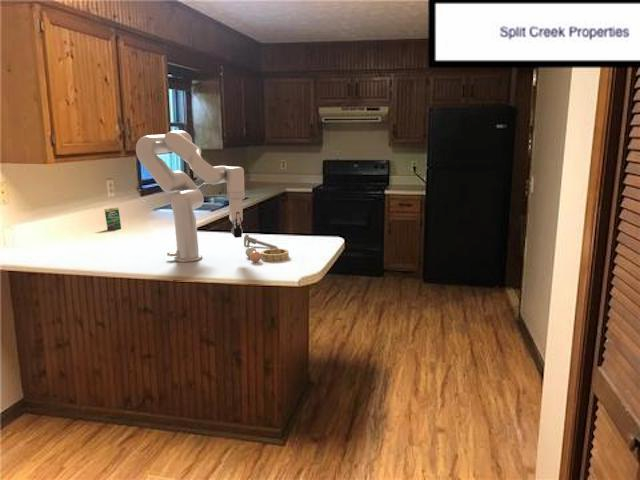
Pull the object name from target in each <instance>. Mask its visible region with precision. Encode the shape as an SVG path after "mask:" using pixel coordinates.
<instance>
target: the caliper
mask: <svg viewBox="0 0 640 480" xmlns="http://www.w3.org/2000/svg"><path fill="white" fill-rule="evenodd" d="M250 244H253V245H256V244H257V245H261V246H264V247H266V248H269V249H280V247H278V246H277V245H274V244H270V243H268V242H265V241H261V240H259V239H257V238H254V237H251V236H250V235H249V234H247V233H245V235H244V237H243V246H246V247H250Z"/></svg>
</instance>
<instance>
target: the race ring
mask: <svg viewBox="0 0 640 480" xmlns="http://www.w3.org/2000/svg"><path fill="white" fill-rule="evenodd" d="M260 254H261V259H260V260H261V261H264V262H273V263H274V262H283V261H286V260H288V259H289V257H290V254H289V250H288V249H285V248H279V249H274V248H268V249H264V250H261V251H260Z"/></svg>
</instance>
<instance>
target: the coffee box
mask: <svg viewBox="0 0 640 480" xmlns="http://www.w3.org/2000/svg"><path fill="white" fill-rule="evenodd" d="M104 215H105V223H106V230H107V231H112V230H120V229H122V225H121V217H120V211H119V207H112V208H104Z"/></svg>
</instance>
